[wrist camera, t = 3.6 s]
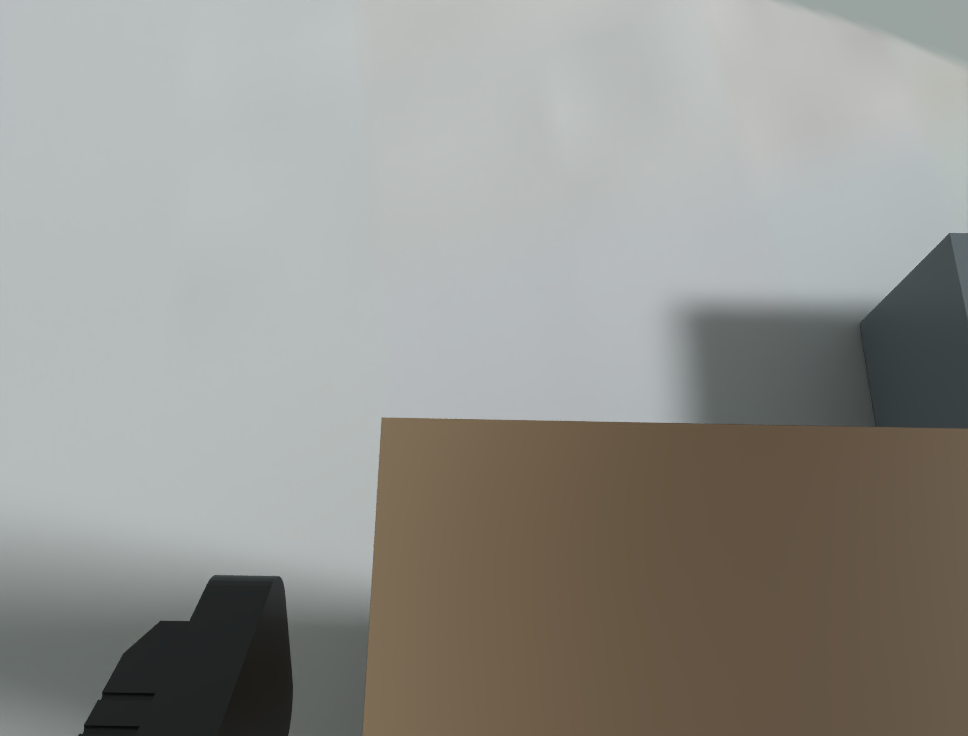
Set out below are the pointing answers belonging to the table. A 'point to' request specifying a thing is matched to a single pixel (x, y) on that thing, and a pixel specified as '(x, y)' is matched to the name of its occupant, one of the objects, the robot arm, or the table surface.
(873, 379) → the grey square socket block
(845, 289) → the table surface
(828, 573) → the slat
